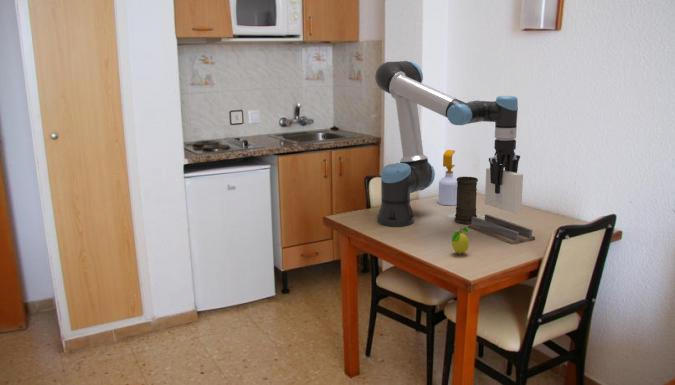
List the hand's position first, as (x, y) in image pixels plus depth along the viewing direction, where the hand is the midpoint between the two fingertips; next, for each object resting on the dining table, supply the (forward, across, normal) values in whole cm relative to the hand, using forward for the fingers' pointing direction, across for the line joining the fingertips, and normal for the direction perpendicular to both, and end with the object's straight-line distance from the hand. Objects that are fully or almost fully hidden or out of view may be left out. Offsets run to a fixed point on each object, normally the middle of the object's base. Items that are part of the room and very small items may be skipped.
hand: (502, 201), depth 209 cm
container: (+13, -1, +19) cm, 23 cm away
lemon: (+13, -28, -11) cm, 33 cm away
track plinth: (+13, 0, 0) cm, 13 cm away
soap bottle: (+12, +11, +46) cm, 49 cm away
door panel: (+3, 0, 0) cm, 3 cm away
